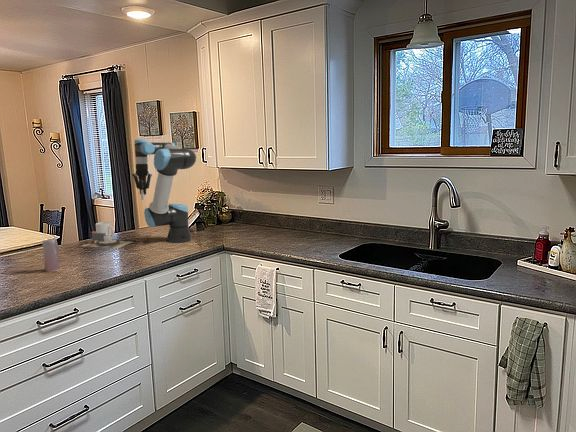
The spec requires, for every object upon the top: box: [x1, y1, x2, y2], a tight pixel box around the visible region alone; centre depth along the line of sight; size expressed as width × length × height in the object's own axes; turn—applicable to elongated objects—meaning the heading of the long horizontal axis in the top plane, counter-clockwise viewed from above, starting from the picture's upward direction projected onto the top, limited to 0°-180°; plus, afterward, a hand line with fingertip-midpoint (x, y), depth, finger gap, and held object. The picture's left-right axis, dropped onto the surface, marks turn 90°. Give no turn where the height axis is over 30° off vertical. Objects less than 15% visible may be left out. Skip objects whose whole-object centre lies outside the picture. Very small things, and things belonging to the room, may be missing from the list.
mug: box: [95, 221, 115, 237], centre depth 279 cm, size 12×8×10 cm
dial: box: [91, 231, 117, 243], centre depth 262 cm, size 15×10×7 cm, turn 77°
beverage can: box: [42, 238, 60, 273], centre depth 210 cm, size 6×6×15 cm
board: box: [82, 238, 133, 249], centre depth 262 cm, size 24×17×3 cm
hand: (143, 199), depth 287 cm, fingers closed
